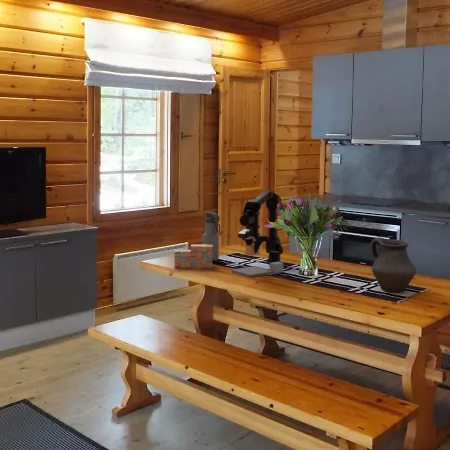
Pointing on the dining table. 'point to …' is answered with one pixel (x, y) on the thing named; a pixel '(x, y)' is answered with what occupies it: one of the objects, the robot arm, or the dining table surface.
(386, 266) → the pitcher
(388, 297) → the dining table surface
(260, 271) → the base plate
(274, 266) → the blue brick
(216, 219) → the water bottle
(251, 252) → the terracotta brick
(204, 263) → the stack of blocks
